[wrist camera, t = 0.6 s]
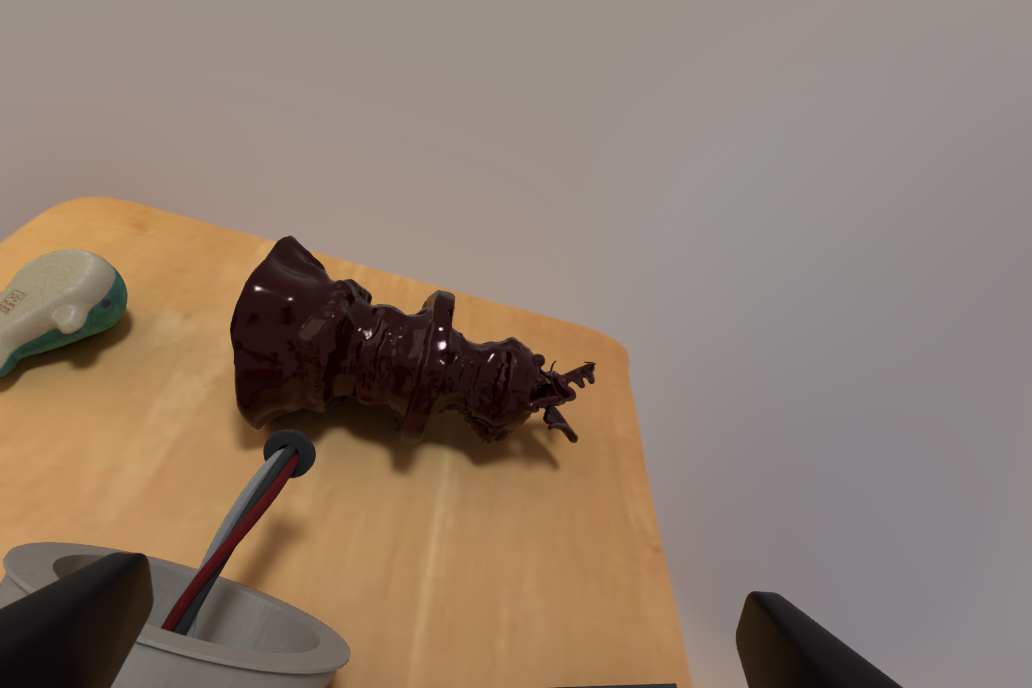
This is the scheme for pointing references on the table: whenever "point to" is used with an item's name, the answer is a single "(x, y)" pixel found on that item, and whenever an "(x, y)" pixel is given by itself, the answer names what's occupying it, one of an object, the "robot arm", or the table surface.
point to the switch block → (631, 686)
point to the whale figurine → (58, 304)
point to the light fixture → (208, 602)
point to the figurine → (379, 356)
